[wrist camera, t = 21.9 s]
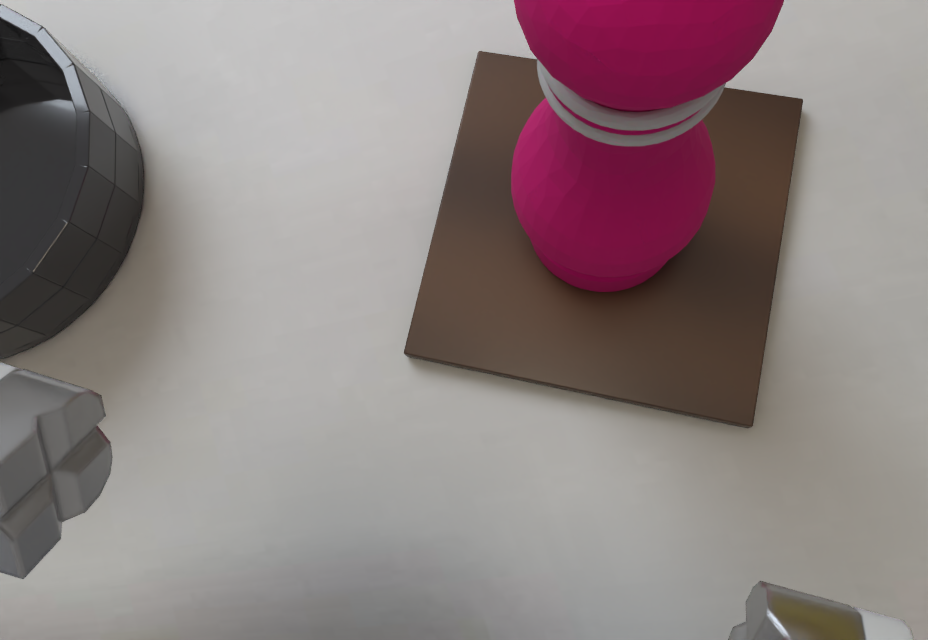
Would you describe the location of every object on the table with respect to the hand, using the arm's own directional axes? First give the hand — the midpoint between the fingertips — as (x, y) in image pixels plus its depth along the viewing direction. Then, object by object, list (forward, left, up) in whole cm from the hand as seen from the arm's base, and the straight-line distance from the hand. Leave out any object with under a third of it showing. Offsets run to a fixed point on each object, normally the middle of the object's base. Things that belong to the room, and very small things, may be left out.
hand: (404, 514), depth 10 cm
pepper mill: (+12, -1, -22) cm, 25 cm away
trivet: (+12, -2, -23) cm, 26 cm away
